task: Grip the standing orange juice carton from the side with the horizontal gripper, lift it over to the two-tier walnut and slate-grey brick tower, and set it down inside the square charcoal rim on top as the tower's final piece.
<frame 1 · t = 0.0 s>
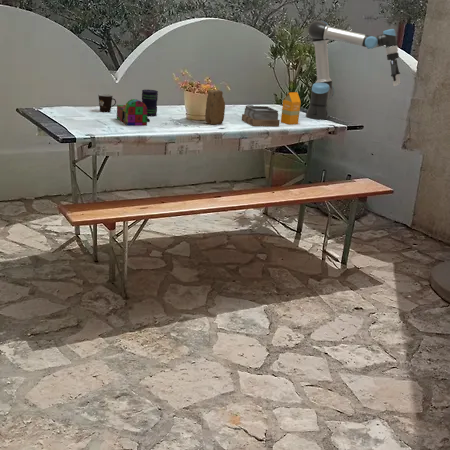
hand: (397, 85, 405), 28 cm above the table, tool tilted 20°, fingers open, 13 cm apart
orange juice: (289, 123, 390), on the table
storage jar: (148, 115, 373), on the table
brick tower: (260, 123, 380), on the table
block: (214, 123, 366), on the table
coffee mug: (106, 112, 370), on the table
multicoloured round-topped piece: (134, 121, 351), on the table
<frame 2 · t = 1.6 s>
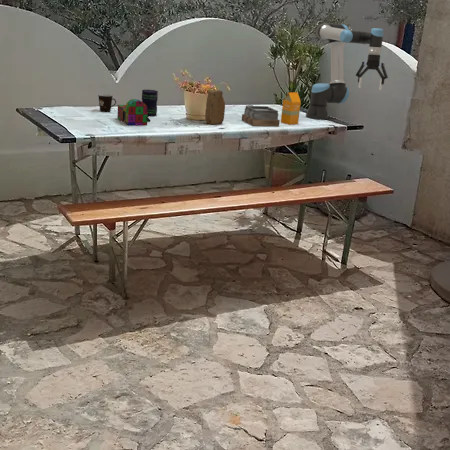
hand: (369, 88, 380), 27 cm above the table, tool pointing down, fingers open, 13 cm apart
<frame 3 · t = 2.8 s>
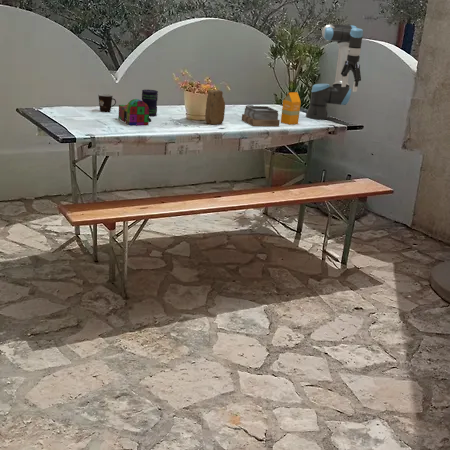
hand: (349, 89, 378), 26 cm above the table, tool pointing down, fingers open, 13 cm apart
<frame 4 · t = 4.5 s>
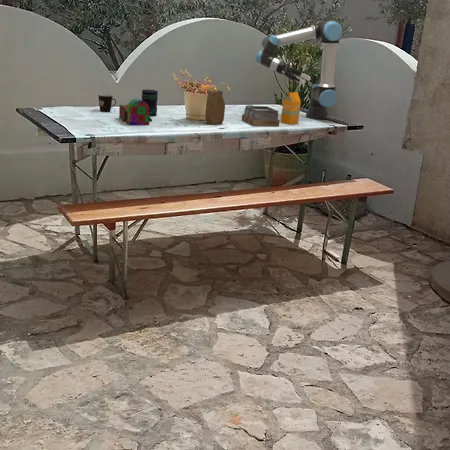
hand: (307, 80, 381), 28 cm above the table, tool tilted 70°, fingers open, 13 cm apart
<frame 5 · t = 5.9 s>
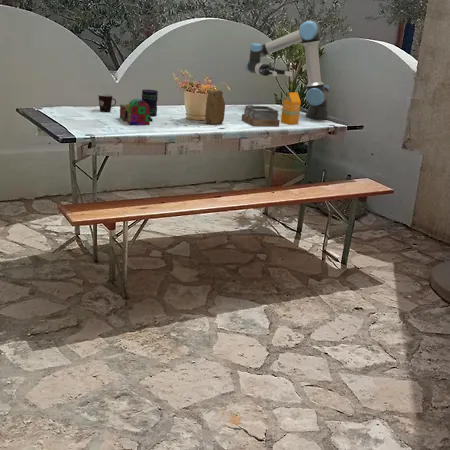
hand: (284, 74, 386), 30 cm above the table, tool horizontal, fingers open, 13 cm apart
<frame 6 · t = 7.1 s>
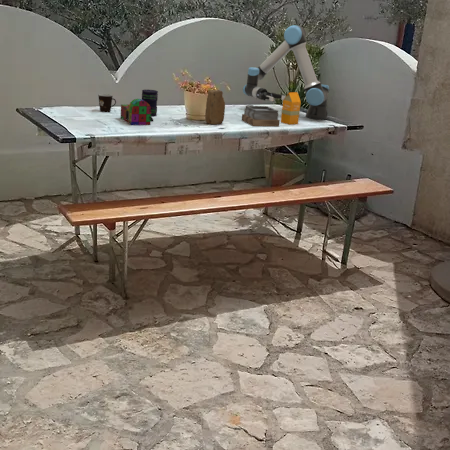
hand: (280, 99, 392), 14 cm above the table, tool horizontal, fingers open, 13 cm apart
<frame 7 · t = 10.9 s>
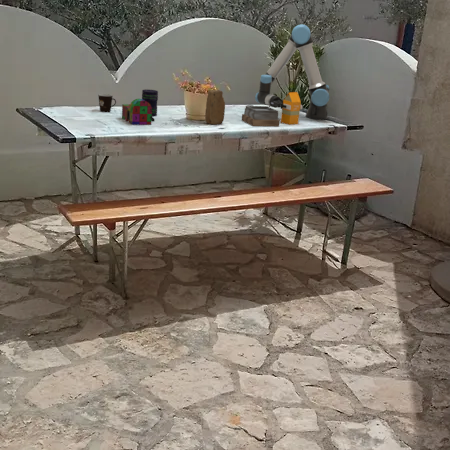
hand: (296, 107, 383), 11 cm above the table, tool horizontal, fingers closed on orange juice, 9 cm apart
orange juice: (289, 123, 390), on the table, touching gripper
multicoloured round-topped piece: (139, 121, 355), on the table
everything else where it was.
when the fingers open (20 cm above the table, at t = 16.1 s): orange juice stays where it is, resting on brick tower.
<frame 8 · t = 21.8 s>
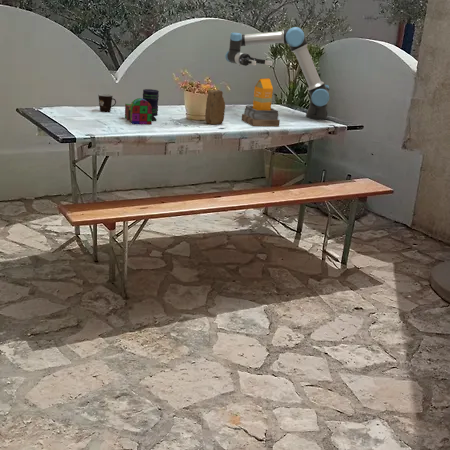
hand: (263, 63, 377), 36 cm above the table, tool horizontal, fingers open, 13 cm apart
orange juice: (261, 111, 377), point 8 cm above the table, touching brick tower
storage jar: (149, 114, 374), on the table, touching multicoloured round-topped piece
multicoloured round-topped piece: (141, 120, 356), on the table, touching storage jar
everything else where it was.
at the end: orange juice 0.1 cm off-centre on the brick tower, point 7.8 cm above the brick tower's base; orange juice tilted 0°; the gripper is holding nothing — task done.
